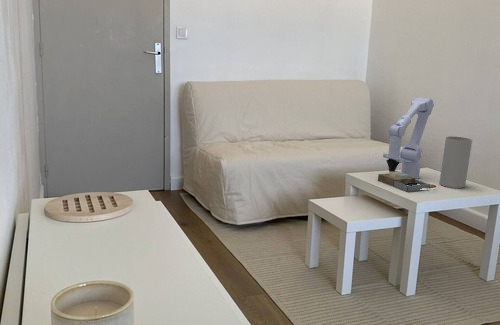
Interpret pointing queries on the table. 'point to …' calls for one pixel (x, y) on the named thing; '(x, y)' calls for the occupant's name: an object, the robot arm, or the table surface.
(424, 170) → the table surface
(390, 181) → the bench plate
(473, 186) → the table surface
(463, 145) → the cylinder vase
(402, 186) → the box
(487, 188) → the table surface
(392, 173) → the tile cream
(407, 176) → the tile sage
